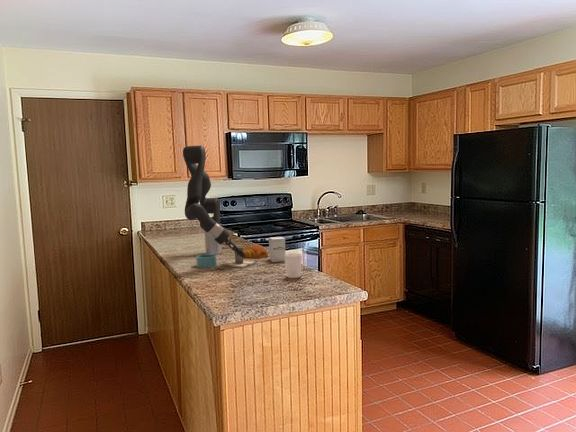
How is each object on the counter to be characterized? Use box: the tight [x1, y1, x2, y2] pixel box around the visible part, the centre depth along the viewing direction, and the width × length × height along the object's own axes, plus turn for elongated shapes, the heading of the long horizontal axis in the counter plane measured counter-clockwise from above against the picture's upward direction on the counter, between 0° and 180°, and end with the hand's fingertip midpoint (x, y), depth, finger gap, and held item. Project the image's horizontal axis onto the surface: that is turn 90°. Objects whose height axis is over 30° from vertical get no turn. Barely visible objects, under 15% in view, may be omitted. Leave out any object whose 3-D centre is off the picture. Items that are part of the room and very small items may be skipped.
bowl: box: [195, 253, 218, 269], centre depth 231 cm, size 10×10×6 cm
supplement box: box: [268, 236, 286, 263], centre depth 239 cm, size 7×7×13 cm
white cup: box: [284, 252, 303, 279], centre depth 204 cm, size 8×8×10 cm
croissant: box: [243, 244, 269, 259], centre depth 253 cm, size 14×16×8 cm
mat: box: [217, 262, 261, 270], centre depth 230 cm, size 16×16×1 cm
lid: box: [220, 246, 258, 268], centre depth 230 cm, size 13×13×9 cm
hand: (242, 255), depth 230 cm, fingers closed on lid, 3 cm apart
